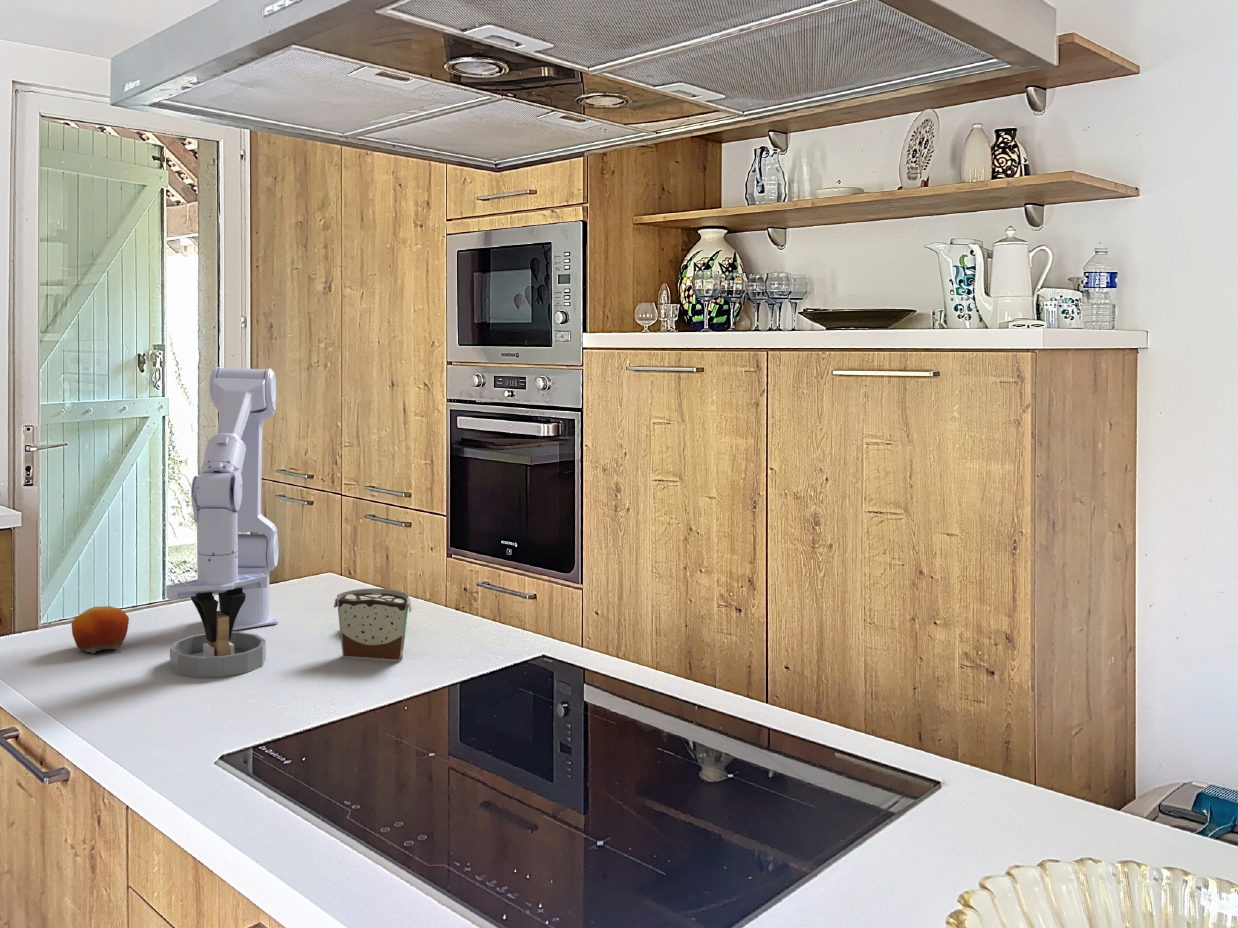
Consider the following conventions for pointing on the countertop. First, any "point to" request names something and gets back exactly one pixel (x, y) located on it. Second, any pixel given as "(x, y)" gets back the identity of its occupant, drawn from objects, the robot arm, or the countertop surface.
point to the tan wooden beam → (221, 635)
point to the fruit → (100, 629)
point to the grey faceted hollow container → (200, 661)
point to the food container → (373, 623)
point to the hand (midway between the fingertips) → (218, 639)
